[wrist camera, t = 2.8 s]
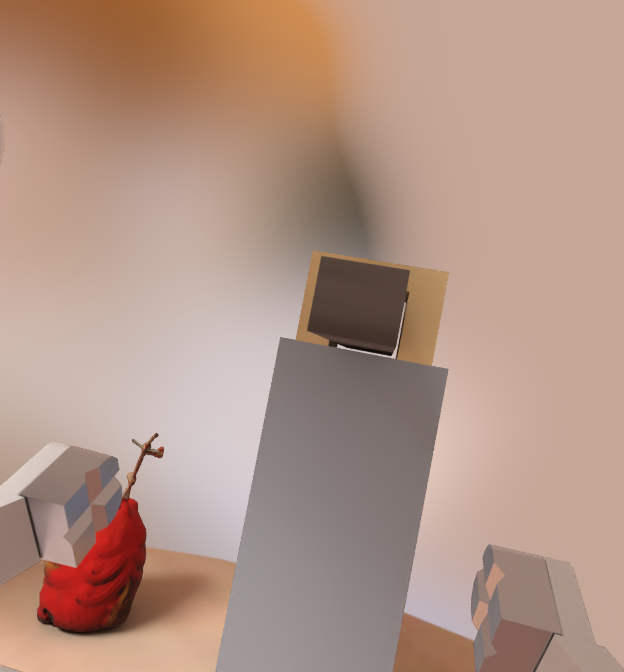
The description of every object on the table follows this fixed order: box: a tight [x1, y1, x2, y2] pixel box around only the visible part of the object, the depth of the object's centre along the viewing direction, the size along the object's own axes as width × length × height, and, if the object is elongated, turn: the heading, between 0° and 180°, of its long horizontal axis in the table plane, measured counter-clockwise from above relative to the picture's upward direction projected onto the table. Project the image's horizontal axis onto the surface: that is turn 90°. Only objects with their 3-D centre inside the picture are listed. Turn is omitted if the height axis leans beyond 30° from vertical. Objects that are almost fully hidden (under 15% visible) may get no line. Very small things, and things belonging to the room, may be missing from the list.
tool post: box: [215, 251, 449, 672], centre depth 35 cm, size 12×10×30 cm
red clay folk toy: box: [37, 433, 164, 633], centre depth 39 cm, size 8×7×15 cm
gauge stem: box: [307, 256, 410, 356], centre depth 29 cm, size 20×4×3 cm, turn 171°
